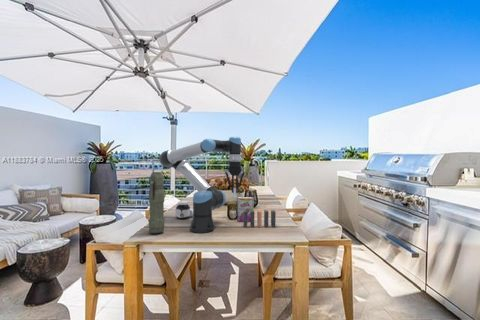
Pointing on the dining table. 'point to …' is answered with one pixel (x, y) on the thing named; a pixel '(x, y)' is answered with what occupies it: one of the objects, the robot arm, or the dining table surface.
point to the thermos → (156, 203)
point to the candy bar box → (244, 207)
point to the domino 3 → (259, 218)
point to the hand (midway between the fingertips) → (234, 197)
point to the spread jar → (183, 210)
